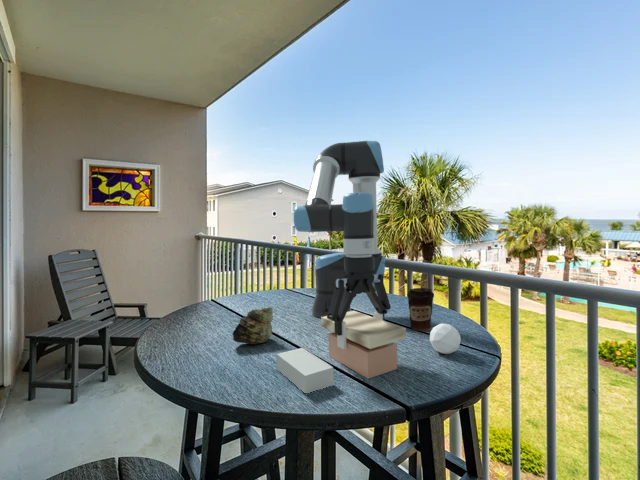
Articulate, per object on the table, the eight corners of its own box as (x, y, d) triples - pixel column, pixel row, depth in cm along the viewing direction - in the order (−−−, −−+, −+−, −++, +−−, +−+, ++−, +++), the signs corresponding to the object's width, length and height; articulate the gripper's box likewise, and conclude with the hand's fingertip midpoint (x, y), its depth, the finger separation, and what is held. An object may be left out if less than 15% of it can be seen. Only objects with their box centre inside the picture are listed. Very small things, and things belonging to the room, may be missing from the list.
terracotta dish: (329, 355, 89) (328, 333, 88) (355, 348, 93) (355, 327, 93) (368, 378, 75) (367, 352, 75) (397, 368, 80) (396, 344, 80)
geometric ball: (453, 364, 88) (467, 346, 83) (423, 352, 89) (435, 334, 84) (453, 341, 94) (466, 324, 89) (425, 331, 95) (436, 313, 90)
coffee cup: (436, 333, 104) (435, 292, 103) (408, 332, 105) (408, 291, 105) (432, 325, 112) (432, 286, 111) (407, 324, 114) (406, 286, 113)
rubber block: (277, 370, 81) (276, 354, 81) (302, 363, 84) (302, 347, 84) (305, 394, 69) (305, 375, 69) (333, 385, 73) (333, 367, 72)
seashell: (238, 337, 106) (236, 305, 105) (274, 335, 107) (273, 304, 106) (232, 349, 95) (230, 315, 95) (272, 347, 96) (271, 313, 96)
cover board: (321, 326, 89) (320, 317, 89) (353, 319, 95) (353, 310, 95) (369, 349, 72) (369, 337, 72) (406, 338, 78) (406, 328, 78)
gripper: (327, 260, 74) (330, 358, 75) (404, 253, 86) (405, 337, 87) (310, 258, 80) (313, 348, 81) (383, 251, 92) (385, 329, 93)
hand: (360, 342), depth 84 cm, fingers closed on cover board, 11 cm apart
